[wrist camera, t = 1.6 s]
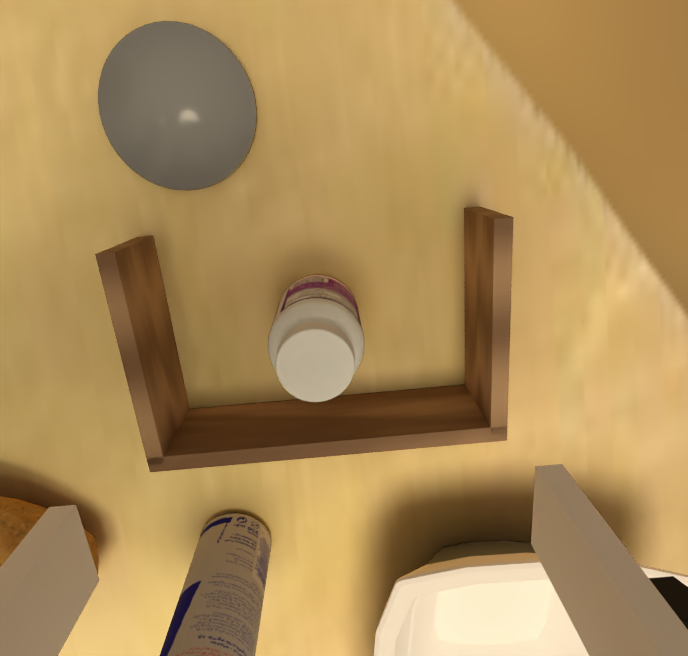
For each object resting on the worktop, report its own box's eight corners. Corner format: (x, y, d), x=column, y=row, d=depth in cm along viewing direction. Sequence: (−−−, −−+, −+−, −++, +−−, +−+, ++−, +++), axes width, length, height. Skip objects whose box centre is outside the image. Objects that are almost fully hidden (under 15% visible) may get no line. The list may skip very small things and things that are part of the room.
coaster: (76, 130, 29) (71, 129, 29) (148, -14, 27) (144, -17, 26) (208, 218, 31) (206, 219, 31) (285, 91, 29) (285, 90, 28)
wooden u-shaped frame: (478, 395, 36) (506, 440, 30) (178, 422, 36) (149, 472, 30) (479, 206, 31) (513, 217, 26) (137, 237, 31) (95, 254, 26)
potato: (76, 598, 41) (29, 681, 34) (-74, 526, 38) (-157, 602, 32) (131, 524, 39) (91, 599, 32) (-25, 442, 36) (-103, 505, 29)
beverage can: (197, 509, 38) (121, 715, 24) (270, 507, 39) (236, 710, 24) (205, 566, 40) (138, 787, 26) (273, 564, 40) (244, 783, 26)
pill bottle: (335, 360, 35) (337, 431, 26) (266, 328, 34) (243, 390, 25) (371, 294, 33) (388, 345, 24) (300, 258, 32) (289, 297, 23)
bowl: (647, 479, 39) (729, 562, 31) (591, 685, 46) (646, 795, 38) (368, 478, 38) (379, 563, 30) (357, 687, 45) (363, 800, 37)
